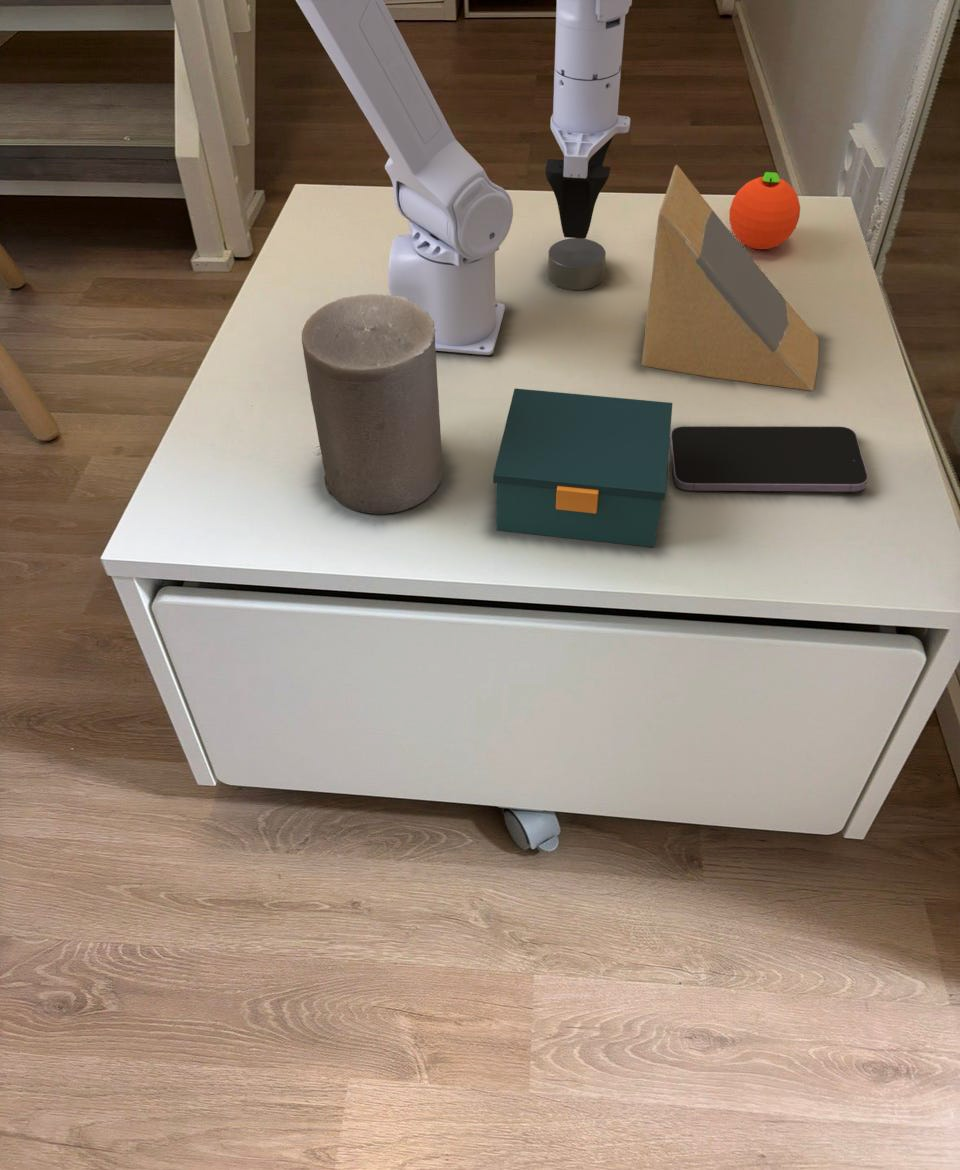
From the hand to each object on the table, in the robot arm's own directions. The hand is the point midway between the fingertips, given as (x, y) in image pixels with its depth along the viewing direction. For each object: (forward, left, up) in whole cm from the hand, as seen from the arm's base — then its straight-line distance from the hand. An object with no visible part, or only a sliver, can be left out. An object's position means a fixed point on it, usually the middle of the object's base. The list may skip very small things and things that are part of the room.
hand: (579, 215), depth 98 cm
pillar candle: (-12, -32, -7) cm, 35 cm away
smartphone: (+18, -26, -7) cm, 33 cm away
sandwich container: (+15, -11, -7) cm, 20 cm away
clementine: (+18, +9, -7) cm, 21 cm away
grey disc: (0, 0, -6) cm, 6 cm away
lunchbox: (+4, -32, -6) cm, 33 cm away
